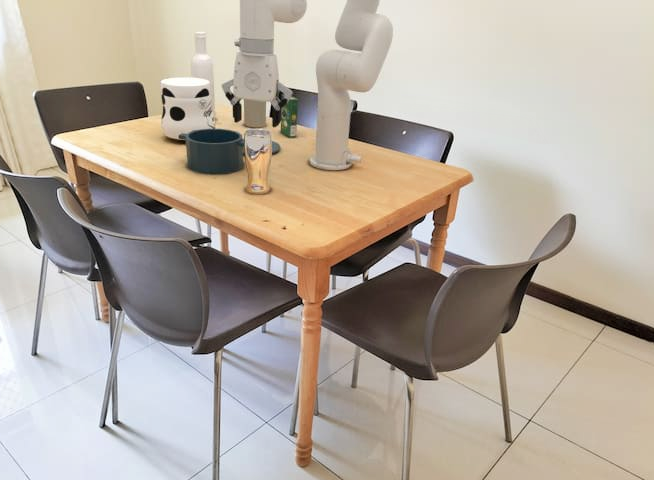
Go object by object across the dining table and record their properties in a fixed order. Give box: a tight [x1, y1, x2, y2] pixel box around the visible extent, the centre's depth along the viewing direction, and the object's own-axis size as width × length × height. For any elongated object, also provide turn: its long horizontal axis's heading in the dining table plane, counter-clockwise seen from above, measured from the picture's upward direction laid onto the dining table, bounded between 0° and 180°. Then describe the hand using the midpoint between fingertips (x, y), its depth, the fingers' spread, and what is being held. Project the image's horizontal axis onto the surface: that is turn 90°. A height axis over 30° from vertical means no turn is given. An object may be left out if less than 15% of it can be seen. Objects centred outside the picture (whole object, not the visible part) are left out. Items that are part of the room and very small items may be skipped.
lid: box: [242, 138, 281, 155], centre depth 160 cm, size 17×17×6 cm
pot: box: [178, 128, 244, 175], centre depth 145 cm, size 16×21×8 cm
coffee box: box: [280, 93, 299, 138], centre depth 175 cm, size 8×3×13 cm, turn 27°
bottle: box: [190, 31, 216, 120], centre depth 184 cm, size 8×8×30 cm
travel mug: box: [243, 99, 267, 129], centre depth 183 cm, size 8×8×18 cm
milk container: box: [160, 76, 216, 143], centre depth 165 cm, size 17×17×18 cm
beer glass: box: [243, 128, 273, 195], centre depth 128 cm, size 7×7×15 cm
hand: (256, 123), depth 123 cm, fingers open, 9 cm apart
